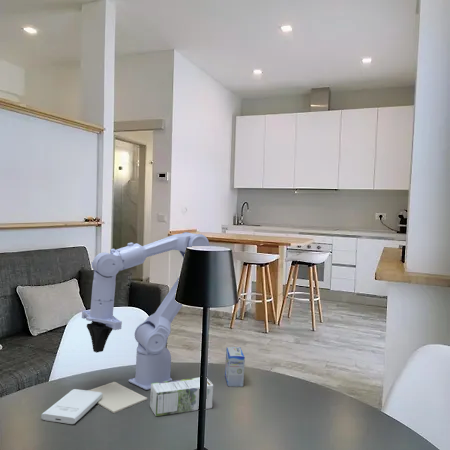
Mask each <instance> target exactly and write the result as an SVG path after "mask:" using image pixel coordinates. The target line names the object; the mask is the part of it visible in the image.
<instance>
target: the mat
mask: <svg viewBox="0 0 450 450" xmlns="http://www.w3.org/2000/svg"><path fill="white" fill-rule="evenodd" d="M87 391H94V392H101V393H102V394H103V396H102V399H100V400H99V401H98V402H97V403H96V404H97V405H98V406H101V407H102V408H104V409H106V410H107V411H109V412H110V413H112V414H115V413H118V412H120V411H123V410H126V409H128V408H130V407H133V406H135V405H138V404H140V403H143V402H145V401H147V400H148V397H147V396H144V395H142V394H140V393H138V392H136V391H135V390H132V389H130V388H128V387H126V386H124V385H122V384H120V383H118V382H116V381H112V382H108V383H106V384H103V385H100V386H97V387H94V388H91V389H88V390H87Z"/></svg>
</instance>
